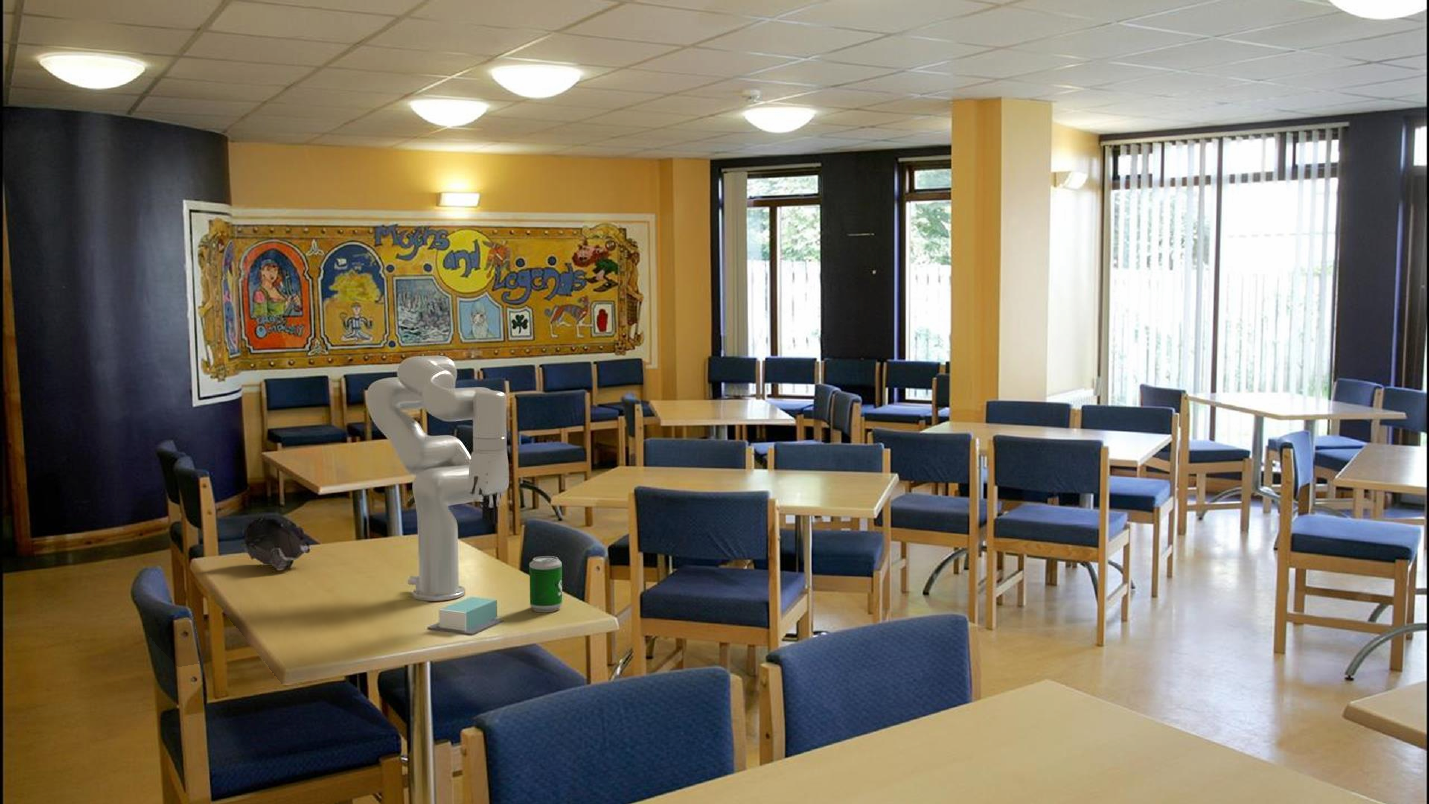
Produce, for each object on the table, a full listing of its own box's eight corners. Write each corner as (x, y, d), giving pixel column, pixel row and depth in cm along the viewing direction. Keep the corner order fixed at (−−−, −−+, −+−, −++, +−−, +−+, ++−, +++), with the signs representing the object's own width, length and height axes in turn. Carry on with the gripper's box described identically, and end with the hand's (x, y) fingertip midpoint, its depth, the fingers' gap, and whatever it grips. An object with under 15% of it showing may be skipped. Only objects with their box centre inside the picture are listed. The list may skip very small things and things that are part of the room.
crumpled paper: (320, 562, 313) (268, 559, 323) (312, 511, 311) (261, 508, 320) (280, 578, 301) (228, 574, 310) (272, 524, 299) (220, 521, 308)
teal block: (472, 613, 263) (439, 627, 252) (471, 596, 263) (438, 609, 252) (497, 617, 260) (465, 630, 249) (497, 600, 260) (464, 612, 249)
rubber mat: (427, 628, 252) (427, 627, 252) (460, 615, 263) (460, 613, 263) (472, 635, 247) (472, 633, 247) (504, 621, 258) (504, 619, 258)
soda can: (555, 614, 264) (555, 563, 263) (525, 612, 266) (524, 561, 265) (566, 605, 272) (566, 556, 271) (536, 603, 273) (536, 554, 272)
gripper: (495, 439, 269) (495, 516, 271) (456, 447, 256) (456, 527, 258) (522, 442, 266) (522, 519, 268) (483, 450, 253) (483, 531, 255)
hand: (490, 523), depth 263 cm, fingers closed
